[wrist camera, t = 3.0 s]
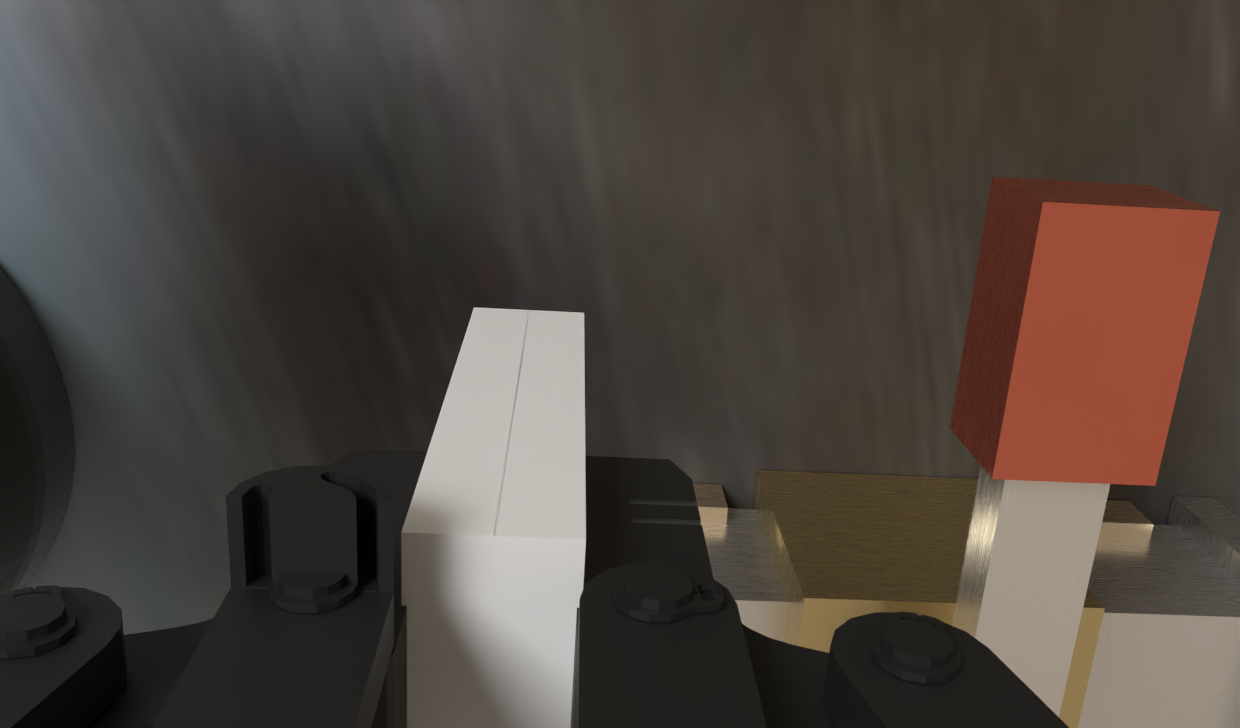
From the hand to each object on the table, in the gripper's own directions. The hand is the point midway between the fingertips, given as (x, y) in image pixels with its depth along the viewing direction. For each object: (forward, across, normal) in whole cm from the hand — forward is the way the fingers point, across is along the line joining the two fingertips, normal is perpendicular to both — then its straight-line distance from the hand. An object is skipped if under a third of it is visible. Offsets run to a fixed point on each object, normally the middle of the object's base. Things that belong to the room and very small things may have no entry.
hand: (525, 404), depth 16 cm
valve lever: (+6, +10, -5) cm, 12 cm away
